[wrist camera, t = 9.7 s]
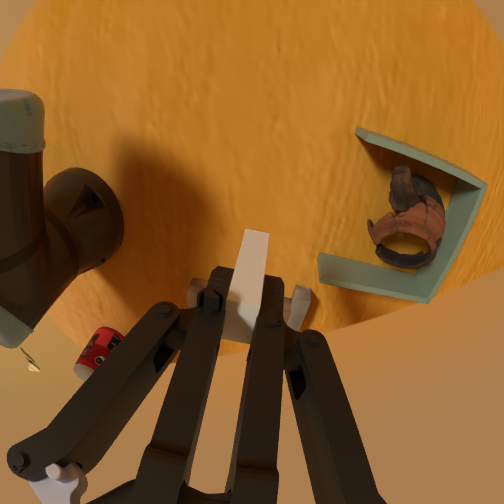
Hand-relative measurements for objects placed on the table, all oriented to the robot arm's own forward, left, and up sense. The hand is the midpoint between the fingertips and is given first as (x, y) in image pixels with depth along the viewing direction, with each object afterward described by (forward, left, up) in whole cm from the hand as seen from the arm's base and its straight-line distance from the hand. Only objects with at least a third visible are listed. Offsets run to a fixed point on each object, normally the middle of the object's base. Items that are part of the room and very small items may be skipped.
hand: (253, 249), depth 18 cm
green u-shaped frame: (+15, 0, -15) cm, 21 cm away
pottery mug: (+15, +1, -15) cm, 21 cm away
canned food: (-25, -38, -15) cm, 48 cm away
